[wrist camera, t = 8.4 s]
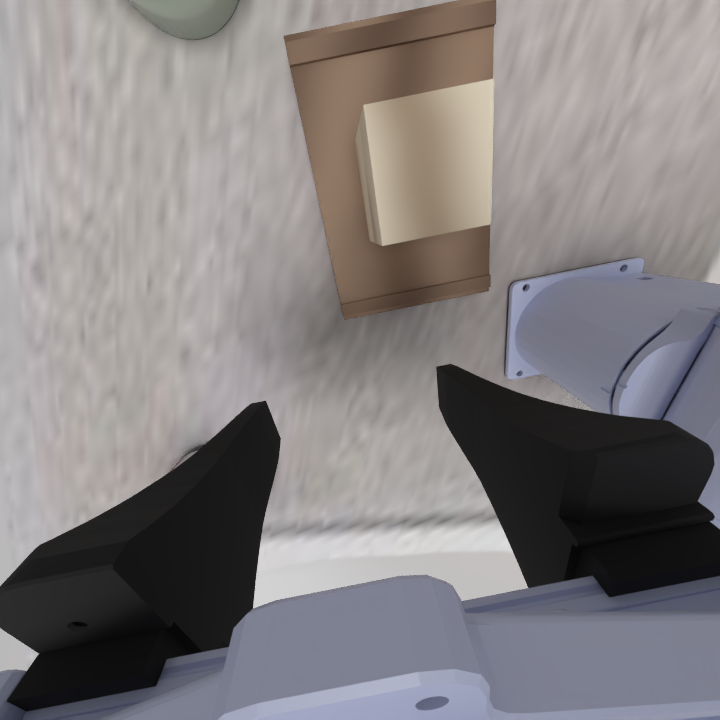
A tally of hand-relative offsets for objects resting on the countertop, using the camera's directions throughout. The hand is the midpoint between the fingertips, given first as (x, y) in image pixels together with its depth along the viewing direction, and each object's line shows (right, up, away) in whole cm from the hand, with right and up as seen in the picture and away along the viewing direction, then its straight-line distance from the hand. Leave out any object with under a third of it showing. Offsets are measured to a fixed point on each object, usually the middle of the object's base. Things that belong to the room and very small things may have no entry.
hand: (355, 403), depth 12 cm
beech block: (+3, +12, +4) cm, 13 cm away
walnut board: (+3, +12, +5) cm, 14 cm away
